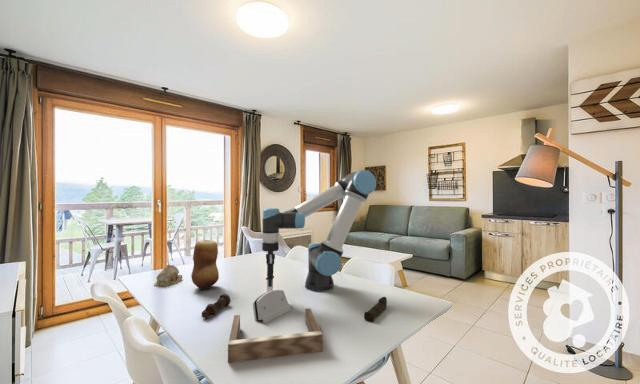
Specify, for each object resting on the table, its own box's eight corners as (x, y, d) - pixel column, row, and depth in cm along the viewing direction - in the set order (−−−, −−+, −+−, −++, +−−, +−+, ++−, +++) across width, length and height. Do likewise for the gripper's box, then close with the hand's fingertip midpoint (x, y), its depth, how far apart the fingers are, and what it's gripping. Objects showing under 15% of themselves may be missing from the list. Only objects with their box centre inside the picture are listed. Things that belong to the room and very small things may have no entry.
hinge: (263, 323, 106) (257, 296, 108) (255, 325, 109) (249, 298, 111) (292, 309, 120) (286, 285, 122) (284, 310, 123) (278, 287, 125)
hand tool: (373, 323, 106) (373, 311, 106) (363, 321, 109) (363, 308, 109) (392, 307, 122) (392, 297, 122) (383, 305, 124) (383, 295, 124)
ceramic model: (167, 287, 150) (167, 268, 150) (149, 285, 152) (149, 267, 153) (185, 279, 163) (185, 262, 164) (169, 278, 166) (169, 261, 166)
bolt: (202, 324, 110) (223, 308, 125) (212, 318, 109) (232, 303, 124) (196, 310, 111) (217, 296, 126) (205, 305, 110) (226, 291, 125)
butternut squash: (221, 289, 146) (221, 240, 146) (193, 294, 138) (193, 243, 139) (214, 282, 157) (214, 237, 158) (188, 287, 150) (188, 239, 150)
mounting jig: (310, 321, 108) (310, 307, 108) (322, 351, 87) (322, 333, 87) (234, 329, 102) (234, 314, 102) (227, 362, 81) (227, 344, 81)
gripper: (262, 239, 136) (261, 288, 136) (262, 244, 124) (261, 298, 123) (277, 239, 138) (277, 288, 137) (279, 243, 125) (278, 297, 125)
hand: (269, 293), depth 130 cm, fingers closed
